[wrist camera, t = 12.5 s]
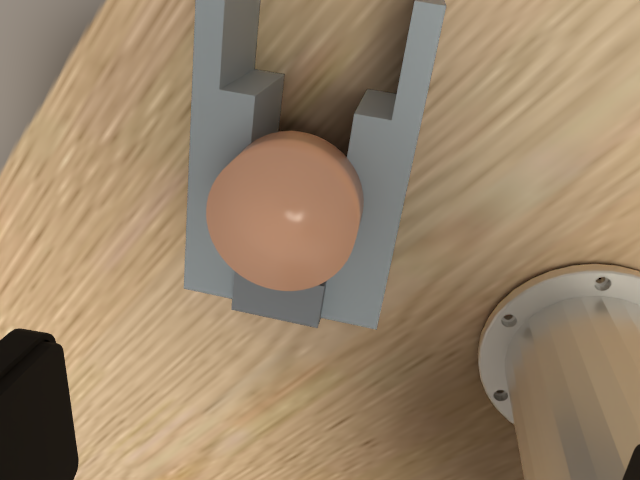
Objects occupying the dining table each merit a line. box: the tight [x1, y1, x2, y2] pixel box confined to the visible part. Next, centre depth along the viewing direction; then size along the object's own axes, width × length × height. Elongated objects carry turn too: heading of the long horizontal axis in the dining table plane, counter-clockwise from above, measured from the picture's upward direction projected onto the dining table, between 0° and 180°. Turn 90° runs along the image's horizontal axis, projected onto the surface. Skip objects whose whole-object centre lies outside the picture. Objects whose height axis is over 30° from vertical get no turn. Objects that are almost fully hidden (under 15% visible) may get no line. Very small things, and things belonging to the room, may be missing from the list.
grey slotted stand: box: [184, 0, 446, 330], centre depth 30 cm, size 16×11×7 cm, turn 172°
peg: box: [206, 131, 364, 291], centre depth 30 cm, size 7×7×8 cm
